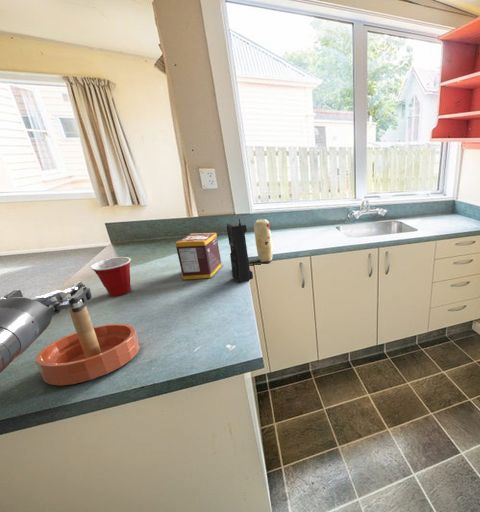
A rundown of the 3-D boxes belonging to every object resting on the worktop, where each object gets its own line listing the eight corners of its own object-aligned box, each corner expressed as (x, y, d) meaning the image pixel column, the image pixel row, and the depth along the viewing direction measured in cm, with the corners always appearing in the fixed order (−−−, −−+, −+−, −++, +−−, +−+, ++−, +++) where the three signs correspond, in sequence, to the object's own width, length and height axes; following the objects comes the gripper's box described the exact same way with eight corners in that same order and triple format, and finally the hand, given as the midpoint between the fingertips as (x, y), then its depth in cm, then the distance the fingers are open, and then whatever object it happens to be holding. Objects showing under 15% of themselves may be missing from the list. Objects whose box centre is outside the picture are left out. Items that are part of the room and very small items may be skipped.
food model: (277, 261, 142) (272, 220, 136) (263, 264, 137) (258, 221, 131) (268, 256, 148) (264, 217, 142) (255, 259, 144) (249, 218, 138)
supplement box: (222, 265, 135) (216, 232, 130) (211, 278, 121) (204, 241, 116) (197, 267, 133) (190, 233, 128) (182, 279, 119) (174, 242, 114)
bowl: (28, 398, 60) (18, 375, 58) (62, 353, 74) (55, 334, 72) (132, 372, 67) (125, 351, 66) (145, 335, 81) (140, 318, 80)
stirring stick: (85, 365, 68) (63, 303, 64) (89, 358, 71) (68, 298, 66) (101, 361, 70) (80, 300, 65) (105, 355, 72) (85, 295, 67)
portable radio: (231, 277, 121) (221, 217, 114) (246, 274, 125) (237, 215, 118) (238, 283, 116) (228, 220, 108) (253, 279, 120) (245, 218, 112)
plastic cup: (90, 299, 101) (79, 266, 98) (118, 286, 112) (109, 256, 108) (121, 300, 101) (111, 267, 97) (146, 287, 111) (138, 257, 108)
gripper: (59, 299, 46) (94, 266, 60) (-87, 320, 40) (-12, 278, 53) (74, 340, 49) (104, 300, 62) (-62, 367, 42) (4, 315, 55)
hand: (51, 290), depth 58 cm, fingers open, 8 cm apart
